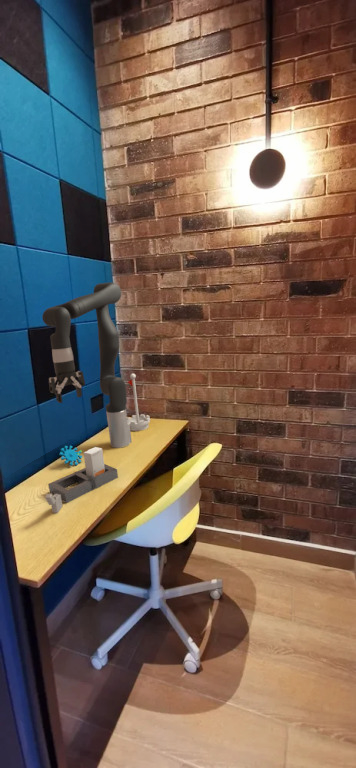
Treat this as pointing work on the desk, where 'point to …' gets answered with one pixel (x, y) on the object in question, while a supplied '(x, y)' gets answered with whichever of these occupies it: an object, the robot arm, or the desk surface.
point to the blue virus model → (71, 455)
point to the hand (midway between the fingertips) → (70, 399)
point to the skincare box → (94, 462)
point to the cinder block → (81, 483)
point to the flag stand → (137, 421)
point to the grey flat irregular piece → (54, 502)
